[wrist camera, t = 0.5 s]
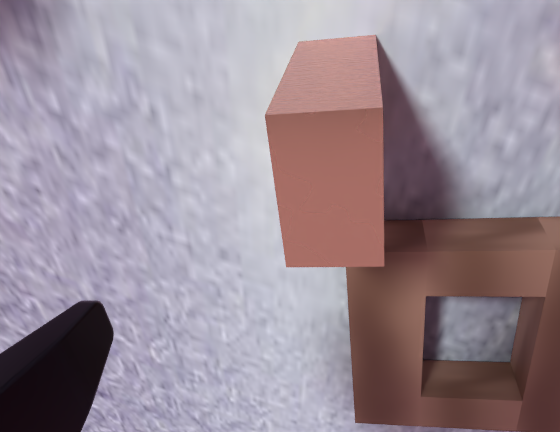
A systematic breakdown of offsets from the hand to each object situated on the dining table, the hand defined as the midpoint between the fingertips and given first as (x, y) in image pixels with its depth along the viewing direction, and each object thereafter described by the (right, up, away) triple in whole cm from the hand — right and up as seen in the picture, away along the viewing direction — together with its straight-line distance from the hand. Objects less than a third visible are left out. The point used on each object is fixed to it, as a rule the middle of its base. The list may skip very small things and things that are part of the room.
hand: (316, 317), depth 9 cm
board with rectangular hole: (+9, -3, +16) cm, 19 cm away
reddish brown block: (+2, +7, +11) cm, 13 cm away
